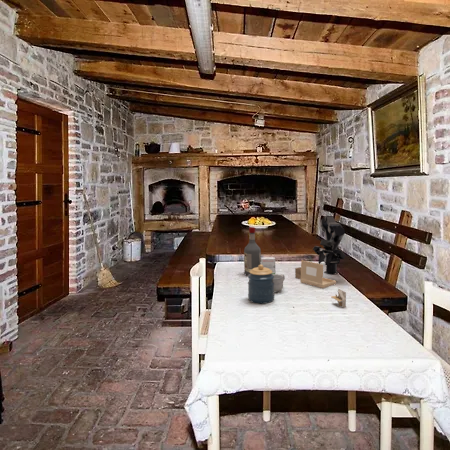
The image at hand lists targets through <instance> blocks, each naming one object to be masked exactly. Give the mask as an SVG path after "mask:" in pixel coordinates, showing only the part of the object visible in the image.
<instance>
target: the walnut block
mask: <svg viewBox="0 0 450 450" xmlns="http://www.w3.org/2000/svg"><path fill="white" fill-rule="evenodd" d="M294 269H295V270H294V271H295V273H294V274H295V276H294V277H295V279H298V280H300V279H301V266H298V267H295V268H294Z"/></svg>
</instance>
